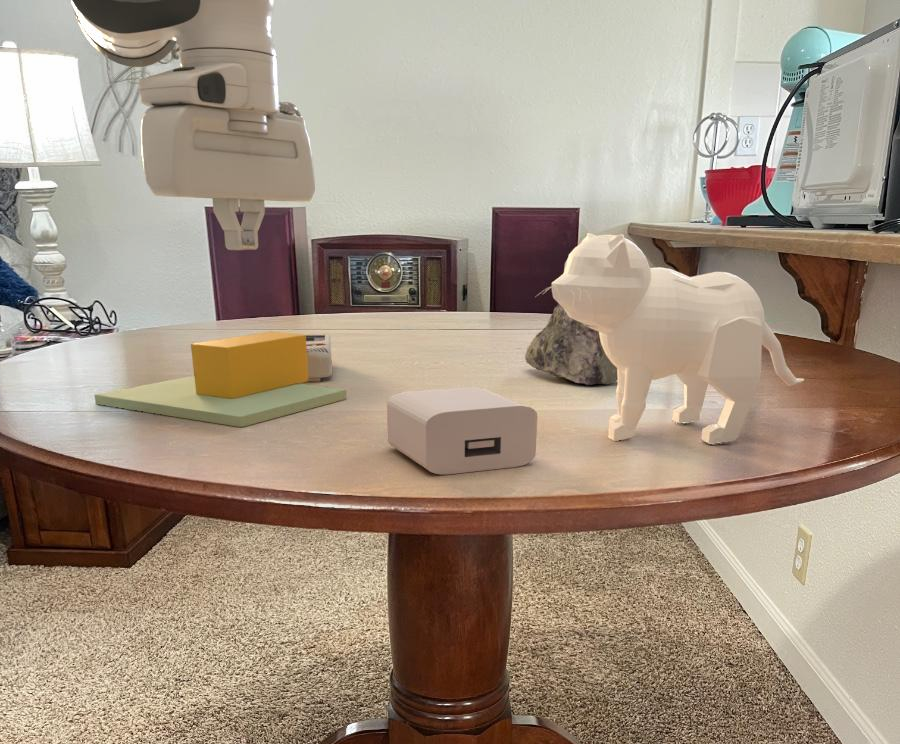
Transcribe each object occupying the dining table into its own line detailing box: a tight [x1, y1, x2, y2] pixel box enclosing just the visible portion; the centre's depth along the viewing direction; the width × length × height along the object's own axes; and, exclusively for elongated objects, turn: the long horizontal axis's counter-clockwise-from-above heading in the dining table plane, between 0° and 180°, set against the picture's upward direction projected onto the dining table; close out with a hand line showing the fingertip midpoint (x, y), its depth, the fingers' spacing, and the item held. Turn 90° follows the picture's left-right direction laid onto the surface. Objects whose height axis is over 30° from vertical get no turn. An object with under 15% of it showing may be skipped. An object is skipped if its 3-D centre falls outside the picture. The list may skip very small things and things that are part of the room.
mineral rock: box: [524, 303, 618, 386], centre depth 105 cm, size 13×11×10 cm
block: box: [190, 331, 308, 399], centre depth 94 cm, size 5×5×12 cm
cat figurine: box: [535, 232, 805, 443], centre depth 77 cm, size 25×10×17 cm, turn 102°
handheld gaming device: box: [305, 333, 333, 382], centre depth 109 cm, size 9×15×4 cm, turn 7°
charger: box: [386, 386, 538, 476], centre depth 74 cm, size 5×9×15 cm
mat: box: [94, 375, 348, 428], centre depth 92 cm, size 20×16×1 cm
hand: (242, 249), depth 89 cm, fingers closed
